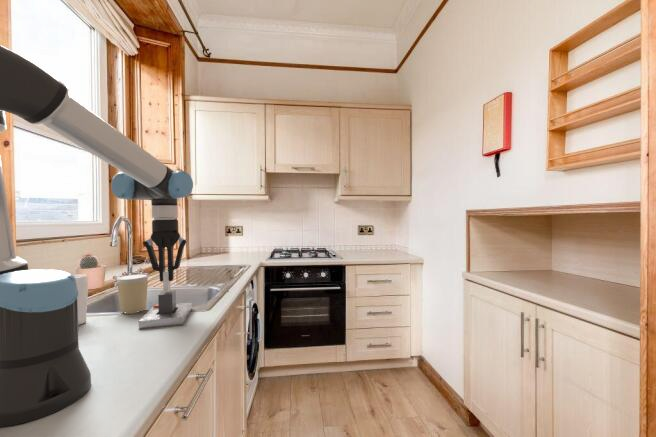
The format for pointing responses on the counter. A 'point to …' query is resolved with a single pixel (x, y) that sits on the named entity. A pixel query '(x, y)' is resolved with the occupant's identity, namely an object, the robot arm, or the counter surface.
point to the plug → (167, 302)
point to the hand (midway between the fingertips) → (167, 291)
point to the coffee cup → (132, 293)
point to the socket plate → (165, 317)
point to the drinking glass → (82, 296)
